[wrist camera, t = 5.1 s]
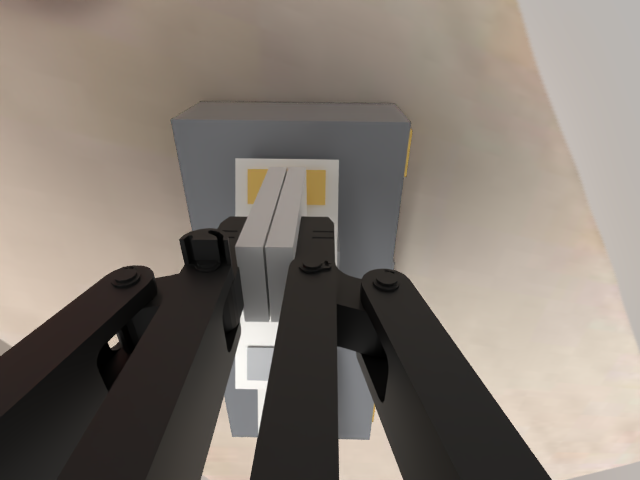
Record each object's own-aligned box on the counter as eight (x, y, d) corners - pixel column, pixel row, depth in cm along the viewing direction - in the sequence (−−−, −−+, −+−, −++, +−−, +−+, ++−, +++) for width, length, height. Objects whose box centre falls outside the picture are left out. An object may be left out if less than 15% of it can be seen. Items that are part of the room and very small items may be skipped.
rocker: (242, 163, 18) (234, 157, 17) (337, 164, 18) (339, 159, 17) (242, 374, 19) (234, 390, 17) (333, 376, 19) (334, 392, 17)
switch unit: (200, 101, 23) (146, 133, 16) (401, 103, 22) (433, 137, 16) (243, 387, 36) (224, 470, 30) (368, 390, 36) (377, 473, 29)
